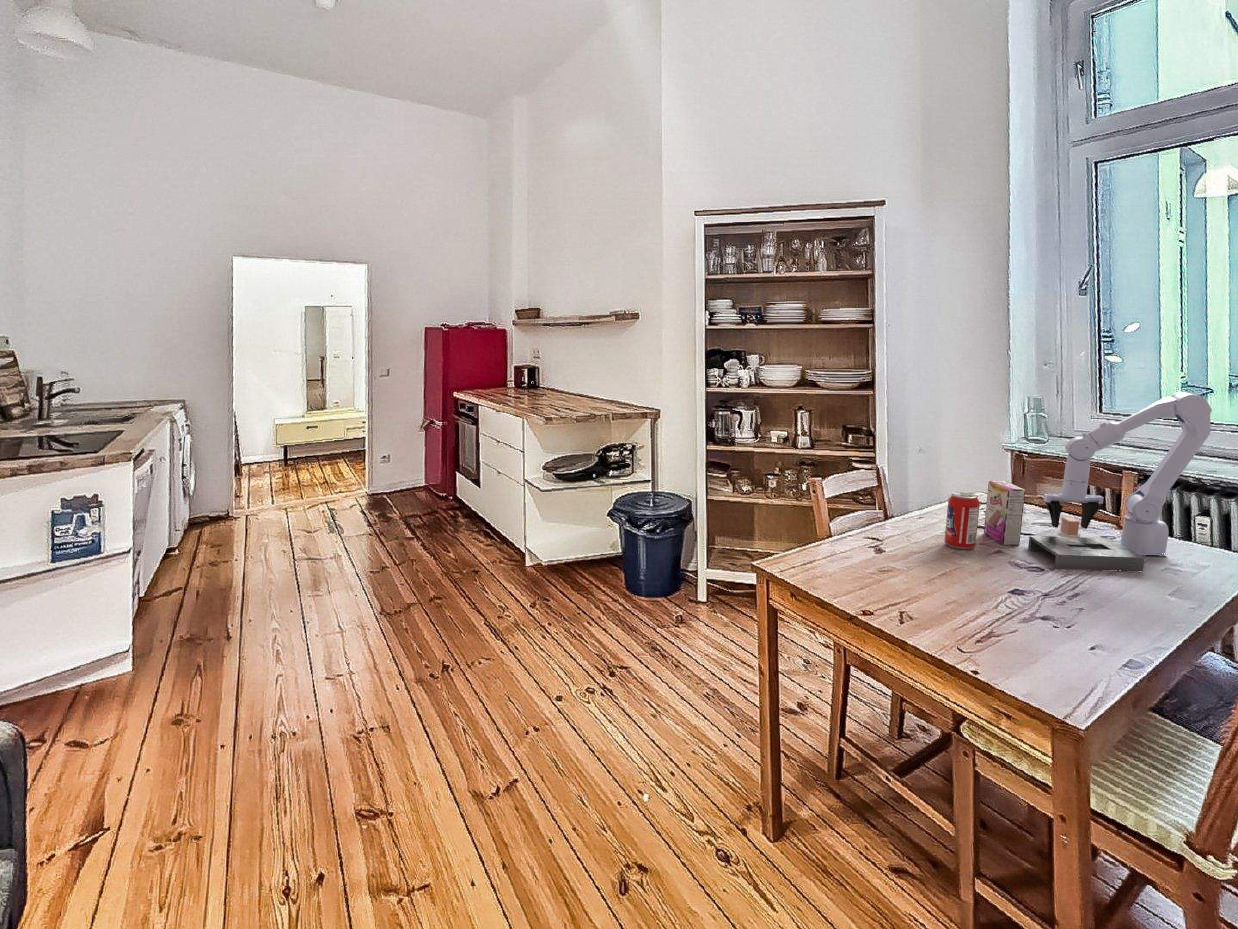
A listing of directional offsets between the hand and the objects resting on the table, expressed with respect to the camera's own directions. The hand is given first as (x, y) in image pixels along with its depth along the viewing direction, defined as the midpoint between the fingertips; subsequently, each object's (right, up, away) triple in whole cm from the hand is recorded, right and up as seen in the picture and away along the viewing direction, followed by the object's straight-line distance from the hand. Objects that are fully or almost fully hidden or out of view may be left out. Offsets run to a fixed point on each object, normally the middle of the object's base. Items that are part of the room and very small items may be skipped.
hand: (1069, 527), depth 189 cm
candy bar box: (-17, -4, +5) cm, 18 cm away
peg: (0, -5, +1) cm, 5 cm away
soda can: (-31, -6, -1) cm, 32 cm away
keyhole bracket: (-5, -7, -12) cm, 15 cm away
